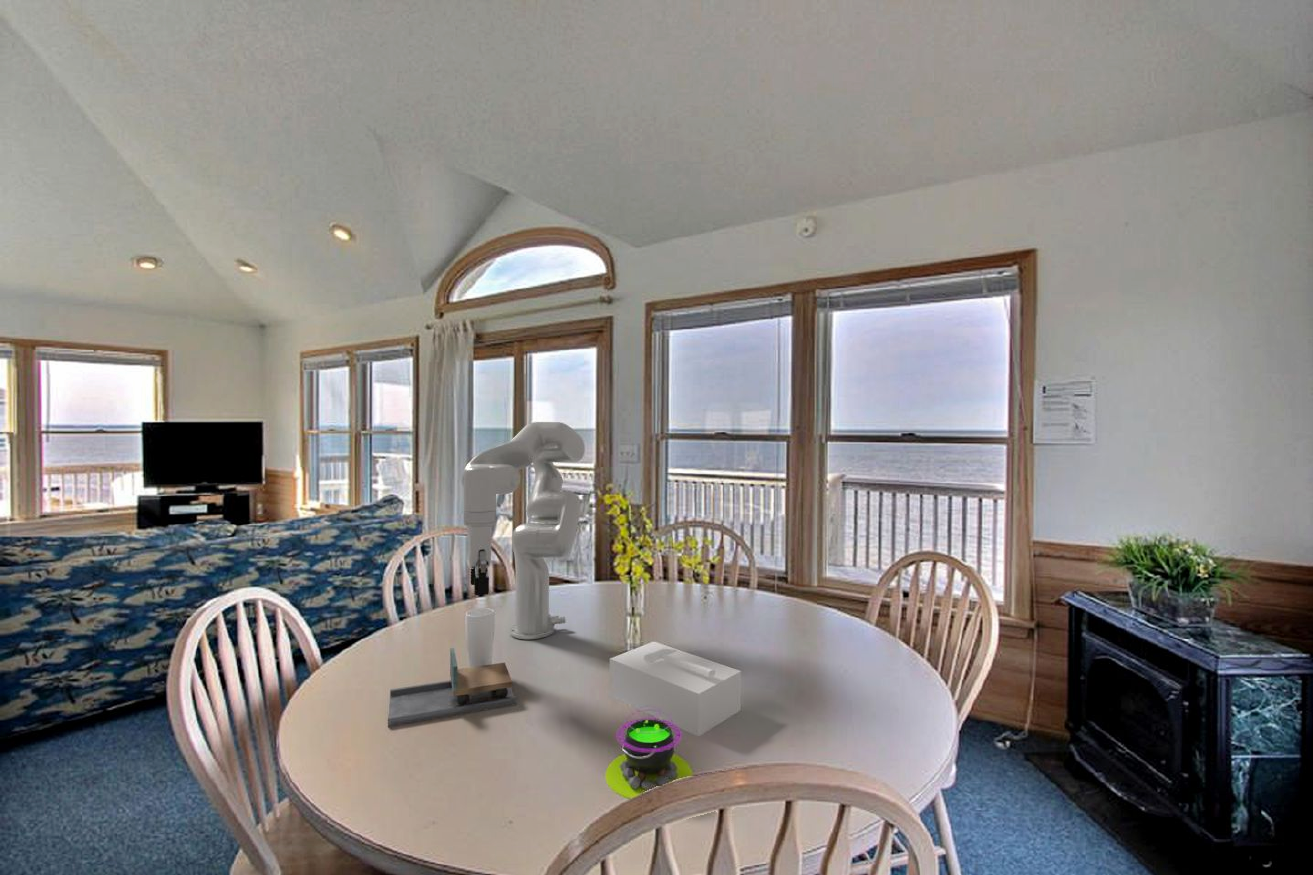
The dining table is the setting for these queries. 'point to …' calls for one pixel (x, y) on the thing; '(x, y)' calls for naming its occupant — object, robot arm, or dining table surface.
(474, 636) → the drinking glass
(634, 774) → the toy cauldron
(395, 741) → the dining table surface
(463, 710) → the rail
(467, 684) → the cart
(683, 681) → the white hammer mold block
